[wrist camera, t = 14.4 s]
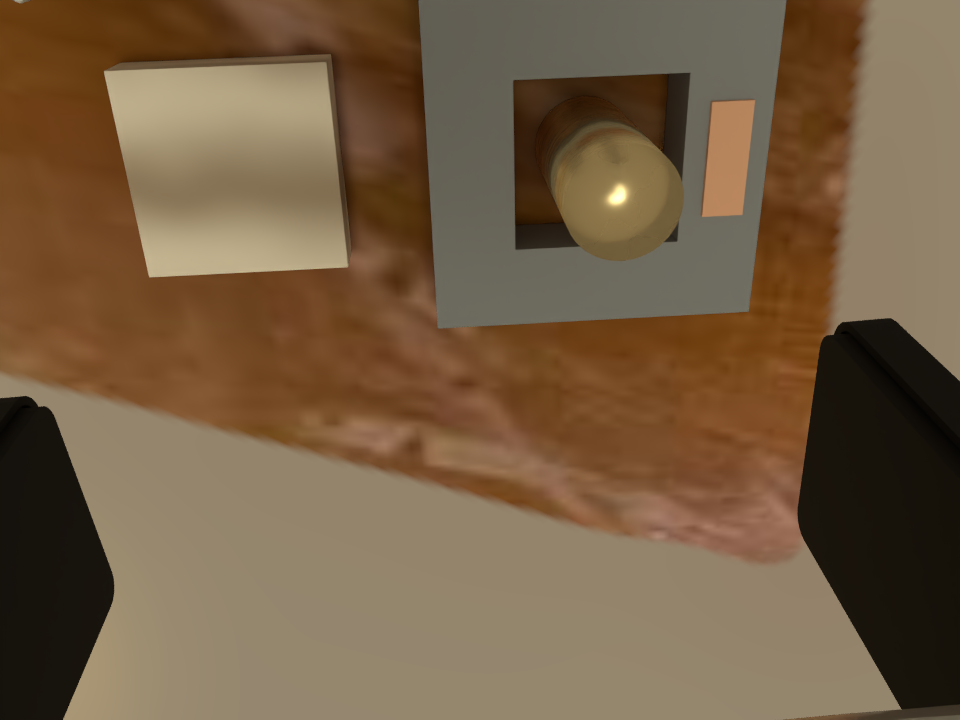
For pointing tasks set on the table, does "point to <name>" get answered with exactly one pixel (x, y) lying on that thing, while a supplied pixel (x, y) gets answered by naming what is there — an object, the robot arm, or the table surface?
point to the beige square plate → (233, 163)
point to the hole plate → (687, 144)
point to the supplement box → (21, 1)
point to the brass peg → (608, 179)
